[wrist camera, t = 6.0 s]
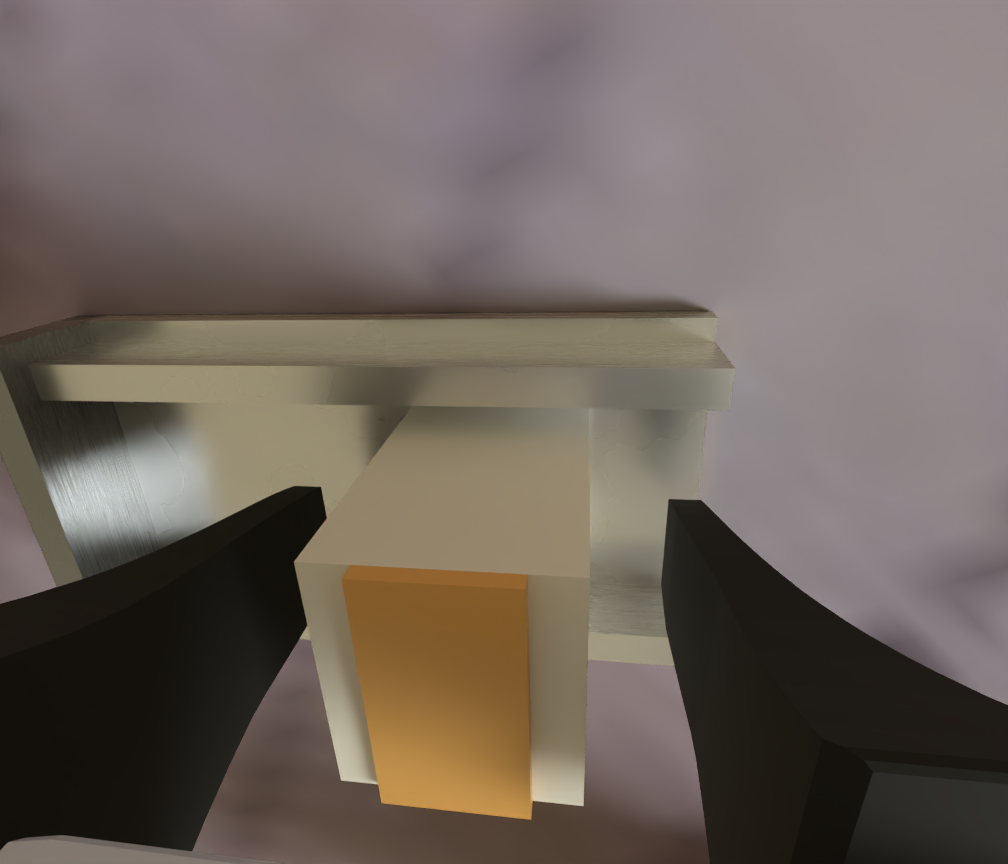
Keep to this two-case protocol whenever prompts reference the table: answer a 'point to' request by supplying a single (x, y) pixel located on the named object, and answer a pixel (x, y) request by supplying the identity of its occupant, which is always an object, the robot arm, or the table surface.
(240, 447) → the grey piece
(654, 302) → the table surface
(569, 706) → the block
